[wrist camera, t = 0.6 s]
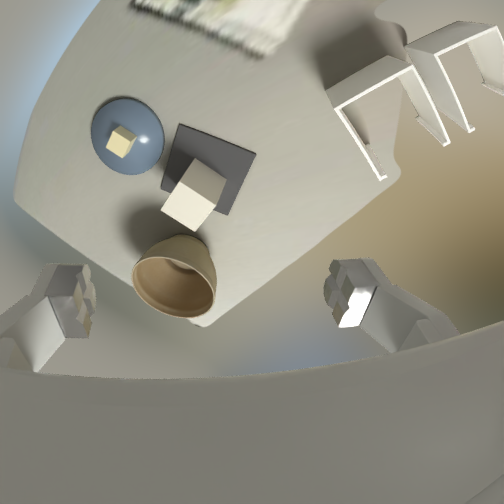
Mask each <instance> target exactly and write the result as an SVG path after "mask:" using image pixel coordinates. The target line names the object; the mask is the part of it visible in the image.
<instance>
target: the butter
mask: <svg viewBox="0 0 504 504" xmlns="http://www.w3.org/2000/svg"><path fill="white" fill-rule="evenodd" d="M136 138H137V136H136V135H135V134H133V133H132V132H130V131H128V130H127V129H125V128H124V127H122V126H119V127H118V128H116V129H115V130H114V131H113V132H112V134H111V137H110V139H109V141H108V143H107V146H106V148H107V149H109V150H110V151H112V152H113V153H115V154H116V155H118V156H119V157H121V158H123V157H124V156H125V155H127V154H128V153H129V151H130V149H131V147H132V145H133V143H134V141H135V139H136Z"/></svg>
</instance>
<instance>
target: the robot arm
mask: <svg viewBox="0 0 504 504" xmlns="http://www.w3.org/2000/svg"><path fill="white" fill-rule="evenodd" d="M329 270H330V272H331V275H330V276H329V277H328V278H327V279H326V280H325V284H324V297H325V301H326V303H327V305H328V306H330V307H331V308H333V312H332V315H333V317H334V319H335V321H336V323H337V325H338V327H349V326H358V325H360V327H361V328H362V329H363V330H364V331H366V332H367V333H368V334H369V335H370V336H372V337H373V338H374V339H375V340H376V341H377V342H379V343H380V344H381V345H382V346H383V347H384V348H386V349H387V350H388V351H390V353H389V354H384V355H380V356H375V357H370V358H365V359H360V360H355V361H349V362H344V363H338V364H332V365H325V366H319V367H312V368H305V369H298V370H290V371H282V372H273V373H263V374H253V375H241V376H228V377H212V378H188V379H120V378H99V377H82V376H69V375H59V374H50V373H41V372H38V371H39V370H40V369H41V368H42V367H43V365H44V364H45V363H46V362H47V360H48V359H49V358H50V357H51V356H52V354H53V353H54V352H55V351H56V350H57V349H58V347H59V346H60V345H61V344H62V343H63V342H64V340H65V338H88V337H89V333H90V329H91V325H92V322H91V319H90V316H91V315H92V314H94V312H95V307H96V292H95V288H94V285H93V284H92V283H91V282H90V281H89V279H90V276H91V272H90V269H89V266H88V265H87V264H63V263H61V264H55V263H53V264H52V263H48V264H46V265H45V266H44V268H43V270H42V272H41V274H40V276H39V278H38V280H37V282H36V284H35V286H34V288H33V290H32V292H31V294H30V296H28V295H27V296H25V297H24V298H22V299H21V300H20V301H18V302H17V303H16V304H15V305H13V306H12V307H11V308H9V309H8V310H7V311H6V312H4V313H3V314H2V315H0V504H504V321H501V322H498V323H496V324H492V325H490V326H487V327H484V328H481V329H478V330H474V331H471V332H468V333H465V334H462V335H460V334H459V332H458V331H457V329H456V328H455V326H454V325H453V324H452V322H451V321H450V319H449V318H448V317H447V315H446V314H445V313H443V312H441V311H440V310H438V309H436V308H435V307H433V306H431V305H430V304H428V303H426V302H425V301H423V300H421V299H419V298H418V297H416V296H414V295H413V294H411V293H409V292H407V291H406V290H404V289H402V288H401V287H399V286H397V285H392V284H391V282H390V281H389V280H388V278H387V277H386V276H385V274H384V273H383V271H382V270H381V269H380V267H379V266H378V265H377V264H376V262H375V261H374V260H373V259H372V258H358V259H338V260H333V261H332V263H331V264H330V267H329Z"/></svg>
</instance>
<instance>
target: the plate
mask: <svg viewBox="0 0 504 504" xmlns="http://www.w3.org/2000/svg"><path fill="white" fill-rule="evenodd" d="M119 126H122V127H124V128H125V129H127V130H128V131H130V132H132V133H133V134H135V135H136V136H137V138H136V139H135V141H134V143H133V145H132V147H131V149H130V151H129V153H128V154H127V155H125V156H124V157H123V158H121V157H119V156H118V155H116V154H115V153H113V152H112V151H110V150H109V149H107V148H106V146H107V143H108V141H109V139H110V137H111V134H112V132H113V131H114V130H115V129H116V128H118V127H119ZM91 138H92V143H93V147H94V149H95V151H96V153H97V155H98V156H99V158H100V159H101V160H102V162H103V163H104V164H105V165H107V166H108V167H109V168H111V169H112V170H114V171H116V172H118V173H122V174H126V175H137V174H141V173H144V172H146V171H147V170H149V169H150V168H152V167H153V166H154V165H155V163H156V162H157V161H158V160H159V158H160V156H161V155H162V152H163V149H164V142H165V138H164V130H163V127H162V124H161V122H160V120H159V118H158V117H157V115H156V114H155V113H154V111H153V110H152V109H150V108H149V107H148V106H147V105H145V104H144V103H142V102H140V101H137V100H134V99H127V98H124V99H117V100H114V101H112V102H110V103H108V104H107V105H105V106H104V107H102V108H101V109H100V110H99V111H98V113H97V114H96V116H95V118H94V120H93V123H92V128H91Z"/></svg>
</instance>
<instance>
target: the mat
mask: <svg viewBox="0 0 504 504" xmlns="http://www.w3.org/2000/svg"><path fill="white" fill-rule="evenodd" d="M255 156H256V154H255V153H253V152H250V151H248V150H246V149H243V148H241V147H238V146H236V145H234V144H231V143H229V142H226V141H224V140H221V139H219V138H216V137H214V136H211V135H208V134H206V133H203V132H201V131H198V130H195V129H193V128H190V127H187V126H184V125H182V124H180V125H179V128H178V131H177V134H176V137H175V141H174V144H173V147H172V150H171V154H170V157H169V161H168V164H167V167H166V171H165V175H164V178H163V182H162V186H161V189H162V190H164V191H167V192H169V193H172V191H173V190H174V188H175V187H176V185H177V183H178V182H179V180H180V179H181V178H182V176H183V175H184V173H185V172H186V170H187V169H188V167H189V166H190V164H191V163H192V162H193V160H194V159H195V158H196V159H197V160H199V161H200V162H202V163H203V164H205V165H206V166H208V167H209V168H211V169H212V170H214V171H215V172H217V173H218V174H219V175H221V176H222V177H224V178H225V179H227V181H226V183H225V185H224V188H223V190H222V193H221V195H220V198H219V200H218V203H217V205H216V207H215V208H214V209H213V210H215V211H217V212H220V213H222V214H225V215H227V216H228V214H229V212H230V209H231V207H232V205H233V203H234V201H235V199H236V196H237V194H238V192H239V190H240V188H241V186H242V184H243V181H244V179H245V177H246V175H247V173H248V171H249V169H250V167H251V165H252V162H253V160H254V158H255Z"/></svg>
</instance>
